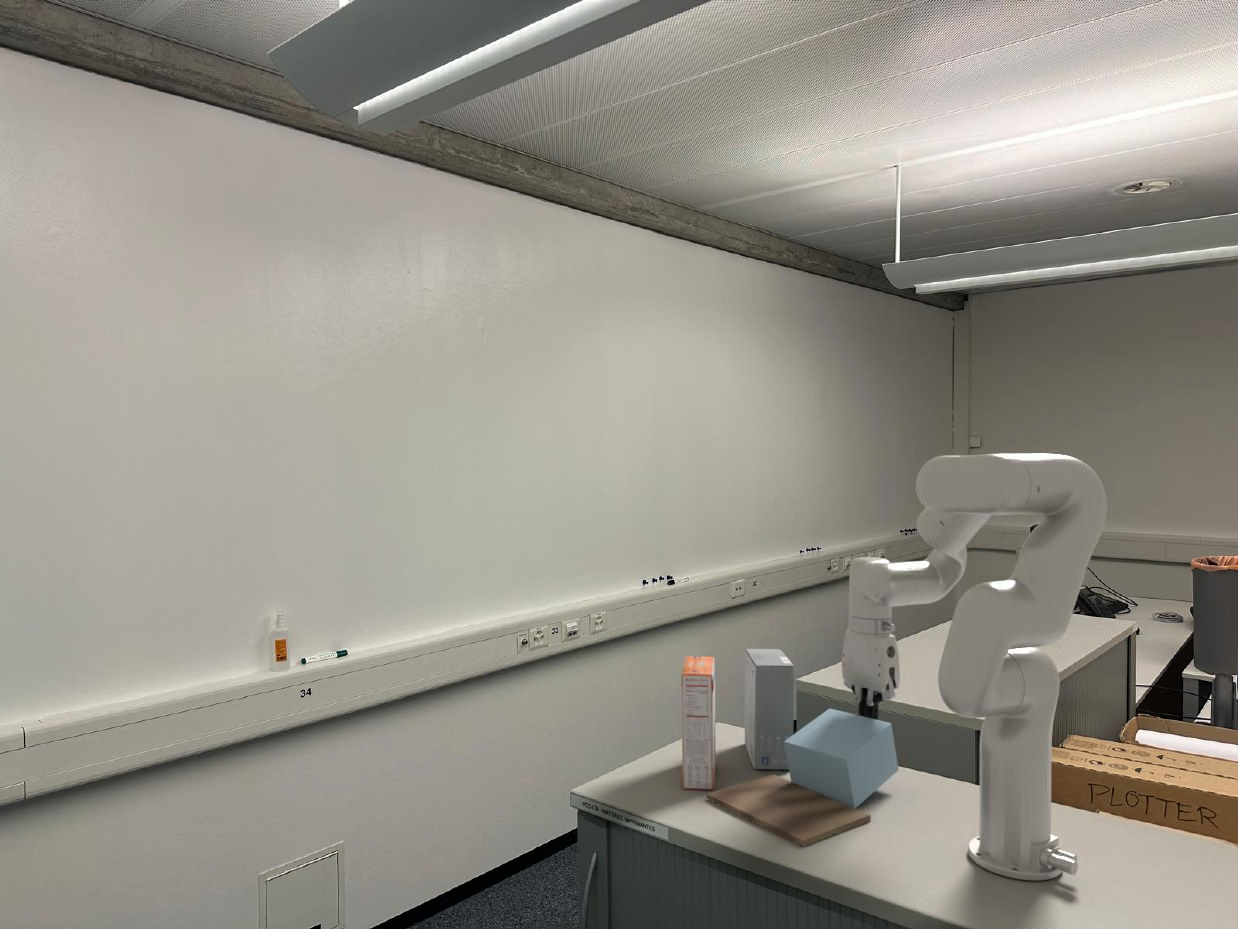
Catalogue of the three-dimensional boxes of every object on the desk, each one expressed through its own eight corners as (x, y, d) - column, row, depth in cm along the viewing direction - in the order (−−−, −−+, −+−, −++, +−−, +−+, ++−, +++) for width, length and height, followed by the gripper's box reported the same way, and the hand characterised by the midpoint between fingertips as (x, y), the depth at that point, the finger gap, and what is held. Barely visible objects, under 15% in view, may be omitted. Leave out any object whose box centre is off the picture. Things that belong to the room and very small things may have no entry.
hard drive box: (794, 771, 160) (794, 666, 160) (753, 771, 160) (754, 665, 160) (780, 743, 175) (780, 647, 175) (743, 743, 176) (743, 647, 176)
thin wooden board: (870, 821, 138) (870, 815, 138) (803, 847, 129) (803, 840, 129) (772, 779, 156) (772, 774, 156) (706, 799, 147) (706, 793, 146)
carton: (898, 770, 151) (891, 723, 150) (854, 809, 142) (846, 759, 141) (836, 752, 161) (829, 708, 160) (792, 787, 152) (784, 741, 151)
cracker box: (684, 762, 165) (685, 654, 165) (716, 763, 164) (716, 655, 164) (680, 790, 151) (680, 672, 151) (714, 792, 150) (714, 674, 150)
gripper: (917, 630, 151) (915, 733, 151) (851, 616, 163) (849, 710, 164) (890, 635, 147) (888, 740, 147) (824, 620, 159) (822, 717, 160)
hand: (868, 724), depth 155 cm, fingers closed
